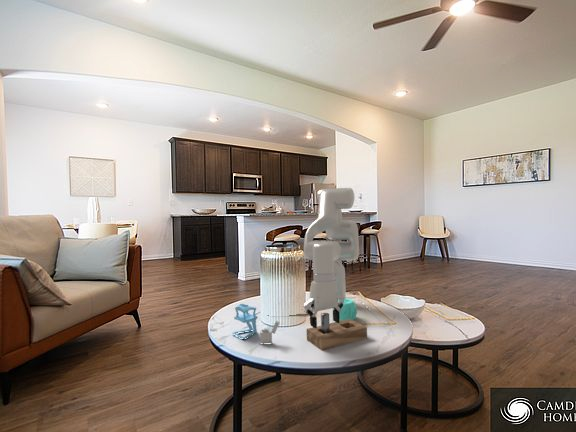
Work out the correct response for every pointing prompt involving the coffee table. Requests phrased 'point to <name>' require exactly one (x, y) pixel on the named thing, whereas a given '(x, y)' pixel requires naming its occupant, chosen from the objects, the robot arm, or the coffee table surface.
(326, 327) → the peg
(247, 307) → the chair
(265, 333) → the lighter
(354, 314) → the decorative dice
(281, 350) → the coffee table surface
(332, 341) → the hole block
